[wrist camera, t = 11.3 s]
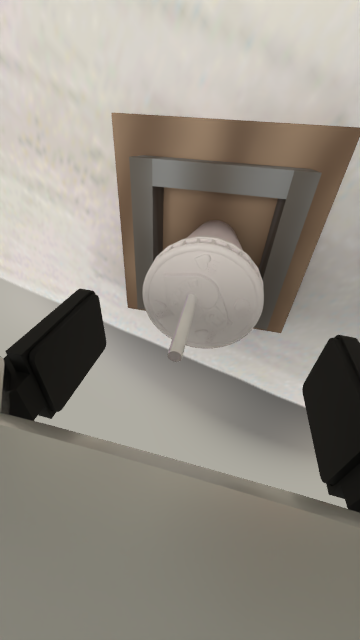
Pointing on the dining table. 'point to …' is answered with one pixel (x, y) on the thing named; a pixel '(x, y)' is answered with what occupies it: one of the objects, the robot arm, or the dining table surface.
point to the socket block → (228, 193)
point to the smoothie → (204, 290)
